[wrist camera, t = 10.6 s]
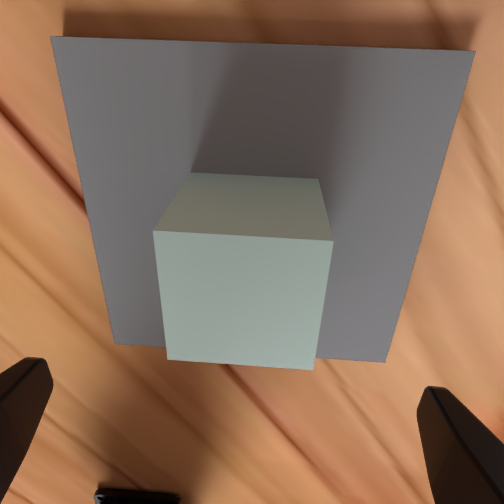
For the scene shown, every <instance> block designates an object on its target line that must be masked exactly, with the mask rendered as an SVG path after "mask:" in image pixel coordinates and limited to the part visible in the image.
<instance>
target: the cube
mask: <svg viewBox="0 0 504 504" xmlns="http://www.w3.org/2000/svg"><path fill="white" fill-rule="evenodd" d="M153 238H154V246H155V255H156V264H157V272H158V281H159V289H160V298H161V307H162V315H163V324H164V333H165V341H166V350H167V359H168V360H180V361H194V362H208V363H221V364H235V365H249V366H263V367H277V368H290V369H304V370H313V368H314V362H315V356H316V350H317V343H318V337H319V331H320V325H321V318H322V312H323V306H324V299H325V293H326V287H327V281H328V274H329V268H330V262H331V256H332V249H333V243H334V240H333V236H332V232H331V228H330V224H329V220H328V216H327V212H326V208H325V204H324V200H323V196H322V192H321V188H320V184H319V180H318V179H310V178H291V177H271V176H252V175H232V174H212V173H193V172H190V173H189V175H188V176H187V178H186V179H185V181H184V183H183V184H182V186H181V187H180V189H179V190H178V192H177V193H176V195H175V197H174V198H173V200H172V201H171V203H170V204H169V206H168V207H167V209H166V211H165V212H164V214H163V215H162V217H161V218H160V220H159V221H158V223H157V225H156V226H155V228H154V229H153Z"/></svg>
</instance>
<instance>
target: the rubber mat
mask: <svg viewBox="0 0 504 504" xmlns="http://www.w3.org/2000/svg"><path fill="white" fill-rule="evenodd" d="M50 38H51V43H52V48H53V53H54V57H55V62H56V67H57V72H58V76H59V81H60V86H61V91H62V95H63V100H64V105H65V110H66V114H67V119H68V124H69V129H70V133H71V138H72V143H73V148H74V152H75V157H76V162H77V167H78V171H79V176H80V181H81V186H82V190H83V195H84V200H85V205H86V209H87V214H88V219H89V224H90V229H91V233H92V238H93V243H94V248H95V252H96V257H97V262H98V267H99V271H100V276H101V281H102V286H103V290H104V295H105V300H106V305H107V309H108V314H109V319H110V324H111V328H112V333H113V338H114V343H115V344H125V345H139V346H153V347H166V341H165V333H164V324H163V315H162V307H161V298H160V289H159V281H158V272H157V264H156V255H155V246H154V238H153V229H154V228H155V226H156V225H157V223H158V221H159V220H160V218H161V217H162V215H163V214H164V212H165V211H166V209H167V207H168V206H169V204H170V203H171V201H172V200H173V198H174V197H175V195H176V193H177V192H178V190H179V189H180V187H181V186H182V184H183V183H184V181H185V179H186V178H187V176H188V175H189V173H190V172H193V173H212V174H232V175H252V176H271V177H291V178H310V179H318V180H319V184H320V188H321V192H322V196H323V200H324V204H325V208H326V212H327V216H328V220H329V224H330V228H331V232H332V236H333V240H334V243H333V249H332V256H331V262H330V268H329V274H328V281H327V287H326V293H325V299H324V306H323V312H322V318H321V325H320V331H319V337H318V343H317V350H316V356H315V358H325V359H339V360H353V361H368V362H382V363H385V362H386V358H387V355H388V352H389V348H390V345H391V341H392V338H393V334H394V331H395V327H396V324H397V321H398V317H399V314H400V310H401V307H402V303H403V300H404V296H405V293H406V290H407V286H408V283H409V279H410V276H411V272H412V269H413V265H414V262H415V259H416V255H417V252H418V248H419V245H420V241H421V238H422V234H423V231H424V228H425V224H426V221H427V217H428V214H429V210H430V207H431V203H432V200H433V197H434V193H435V190H436V186H437V183H438V179H439V176H440V172H441V169H442V166H443V162H444V159H445V155H446V152H447V148H448V145H449V141H450V138H451V135H452V131H453V128H454V124H455V121H456V117H457V114H458V110H459V107H460V104H461V100H462V97H463V93H464V90H465V86H466V83H467V79H468V76H469V73H470V69H471V66H472V62H473V59H474V55H475V52H476V51H468V50H445V49H417V48H388V47H359V46H330V45H301V44H273V43H244V42H215V41H186V40H157V39H129V38H100V37H71V36H50Z"/></svg>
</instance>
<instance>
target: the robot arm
mask: <svg viewBox="0 0 504 504" xmlns="http://www.w3.org/2000/svg"><path fill="white" fill-rule="evenodd" d="M52 390H53V379H52V376H51V373H50V370H49V367H48V364H47V362H46V360H45V359H43V358H36V357H27V358H24V359H22V360H21V361H19V362H18V363H16V364H15V365H13V366H11V367H10V368H8V369H7V370H5V371H4V372H2V373H1V374H0V504H1V502H2V500H3V498H4V496H5V494H6V492H7V490H8V488H9V486H10V484H11V483H12V481H13V479H14V477H15V475H16V473H17V471H18V469H19V467H20V465H21V463H22V461H23V459H24V457H25V455H26V453H27V451H28V449H29V447H30V444H31V442H32V439H33V437H34V435H35V432H36V430H37V427H38V425H39V422H40V420H41V417H42V415H43V412H44V410H45V408H46V405H47V403H48V400H49V398H50V395H51V393H52ZM417 422H418V427H419V432H420V437H421V442H422V447H423V453H424V458H425V463H426V468H427V473H428V478H429V483H430V487H431V491H432V494H433V498H434V501H435V504H504V444H503V443H502V442H501V441H500V440H499V439H498V438H497V437H496V436H495V435H494V434H493V433H492V432H491V431H490V430H489V429H488V428H487V427H486V426H485V425H484V424H483V423H482V422H481V421H480V420H479V419H478V418H477V417H476V416H475V415H474V414H473V413H472V412H471V411H470V410H469V409H468V408H467V407H465V406H464V405H463V404H462V403H461V402H460V401H459V400H458V399H457V398H456V397H455V396H454V395H453V394H452V393H451V392H450V391H449V390H448V389H446V388H444V387H436V386H428V387H426V388H425V390H424V392H423V395H422V397H421V400H420V402H419V405H418V408H417ZM94 500H95V503H96V504H181V499H180V498H179V497H177V496H174V495H162V494H151V493H139V492H128V491H116V490H105V489H98V490H96V492H95V495H94Z"/></svg>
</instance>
